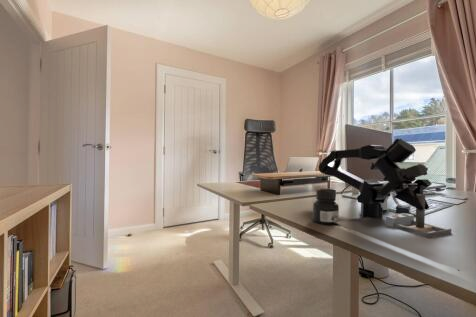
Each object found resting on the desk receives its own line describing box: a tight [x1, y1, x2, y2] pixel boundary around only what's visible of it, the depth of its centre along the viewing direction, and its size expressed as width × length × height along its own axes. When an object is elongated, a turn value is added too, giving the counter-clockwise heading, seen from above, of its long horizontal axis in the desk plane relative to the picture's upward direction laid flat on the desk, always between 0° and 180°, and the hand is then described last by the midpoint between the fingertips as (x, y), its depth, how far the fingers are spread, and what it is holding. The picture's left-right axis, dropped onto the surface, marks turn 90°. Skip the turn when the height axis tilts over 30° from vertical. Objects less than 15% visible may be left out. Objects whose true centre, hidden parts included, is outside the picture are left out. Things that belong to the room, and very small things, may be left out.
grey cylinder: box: [407, 193, 433, 232], centre depth 73 cm, size 3×8×11 cm, turn 112°
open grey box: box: [393, 219, 452, 239], centre depth 74 cm, size 13×11×2 cm
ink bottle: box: [312, 187, 340, 226], centre depth 84 cm, size 10×9×12 cm
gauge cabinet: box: [385, 212, 415, 228], centre depth 79 cm, size 2×11×4 cm, turn 112°
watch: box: [391, 191, 411, 214], centre depth 96 cm, size 6×8×11 cm
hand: (425, 209), depth 71 cm, fingers closed on grey cylinder, 2 cm apart
